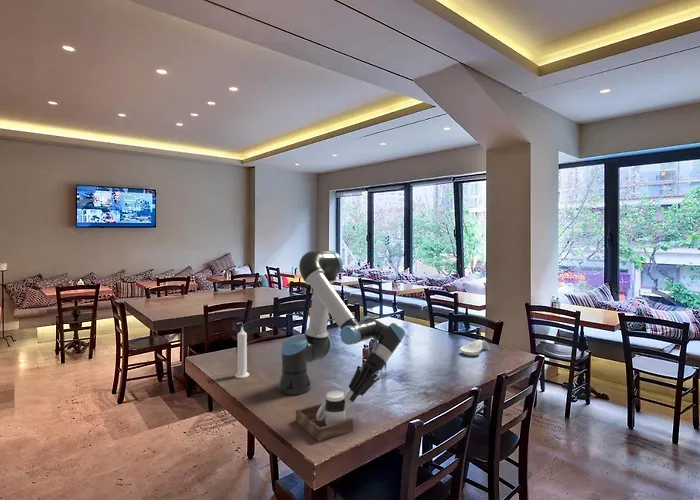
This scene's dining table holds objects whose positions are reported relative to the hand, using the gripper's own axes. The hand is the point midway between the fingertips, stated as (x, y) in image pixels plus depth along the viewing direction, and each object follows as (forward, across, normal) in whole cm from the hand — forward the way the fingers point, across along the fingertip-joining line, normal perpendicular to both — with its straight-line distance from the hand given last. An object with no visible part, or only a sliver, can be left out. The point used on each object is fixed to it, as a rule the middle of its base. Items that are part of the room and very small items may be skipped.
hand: (344, 407), depth 153 cm
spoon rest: (-78, +32, -87) cm, 121 cm away
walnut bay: (+10, 0, +3) cm, 10 cm away
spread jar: (+8, 0, +1) cm, 8 cm away
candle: (+16, +69, +9) cm, 71 cm away
